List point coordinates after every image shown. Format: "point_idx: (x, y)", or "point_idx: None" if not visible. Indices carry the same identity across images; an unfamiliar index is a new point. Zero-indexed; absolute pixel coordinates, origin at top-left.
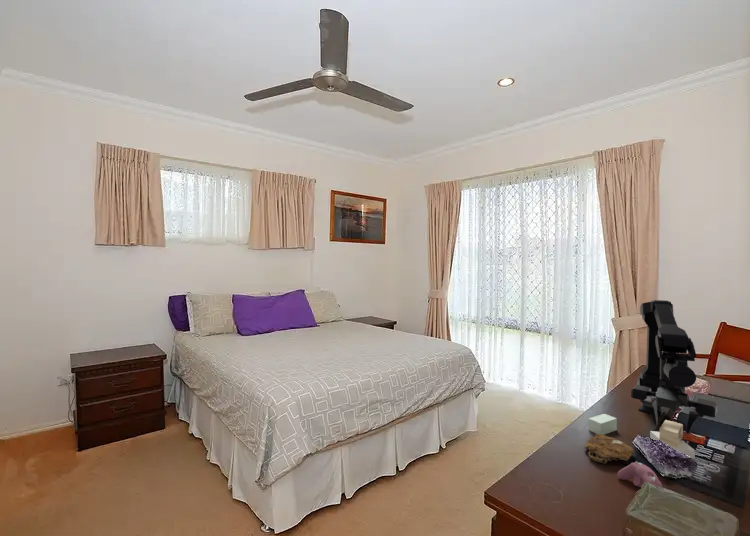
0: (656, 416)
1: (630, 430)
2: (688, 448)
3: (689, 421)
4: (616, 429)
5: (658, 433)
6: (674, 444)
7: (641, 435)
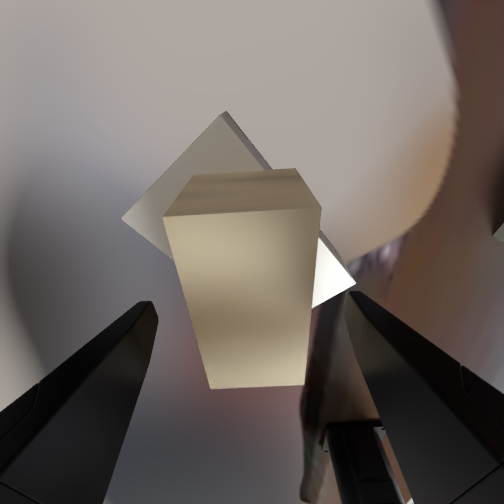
0: (379, 364)
1: (422, 278)
2: (149, 214)
3: (39, 414)
4: (497, 236)
5: (316, 284)
6: (207, 179)
7: (377, 265)
